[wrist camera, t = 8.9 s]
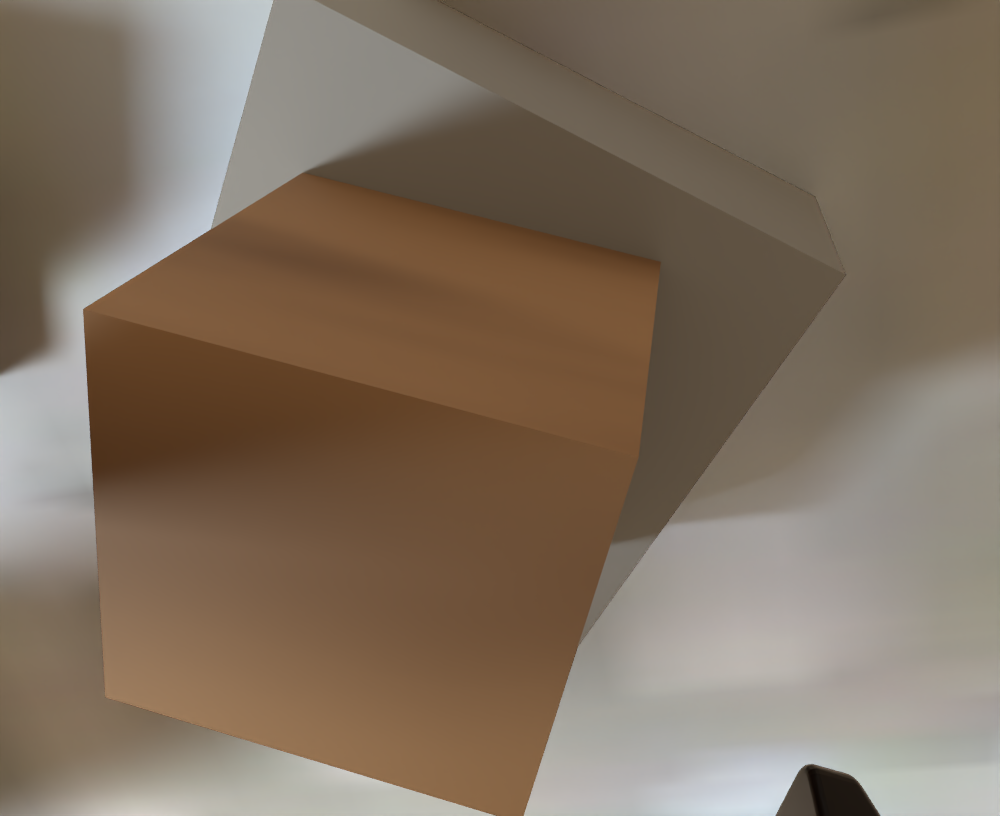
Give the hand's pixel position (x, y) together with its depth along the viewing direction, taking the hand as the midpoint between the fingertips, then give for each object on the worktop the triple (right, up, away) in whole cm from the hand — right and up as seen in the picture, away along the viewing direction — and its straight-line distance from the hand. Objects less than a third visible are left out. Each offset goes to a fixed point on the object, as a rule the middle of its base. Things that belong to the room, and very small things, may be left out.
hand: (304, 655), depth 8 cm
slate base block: (+2, +5, +9) cm, 10 cm away
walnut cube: (+1, +3, +5) cm, 6 cm away
